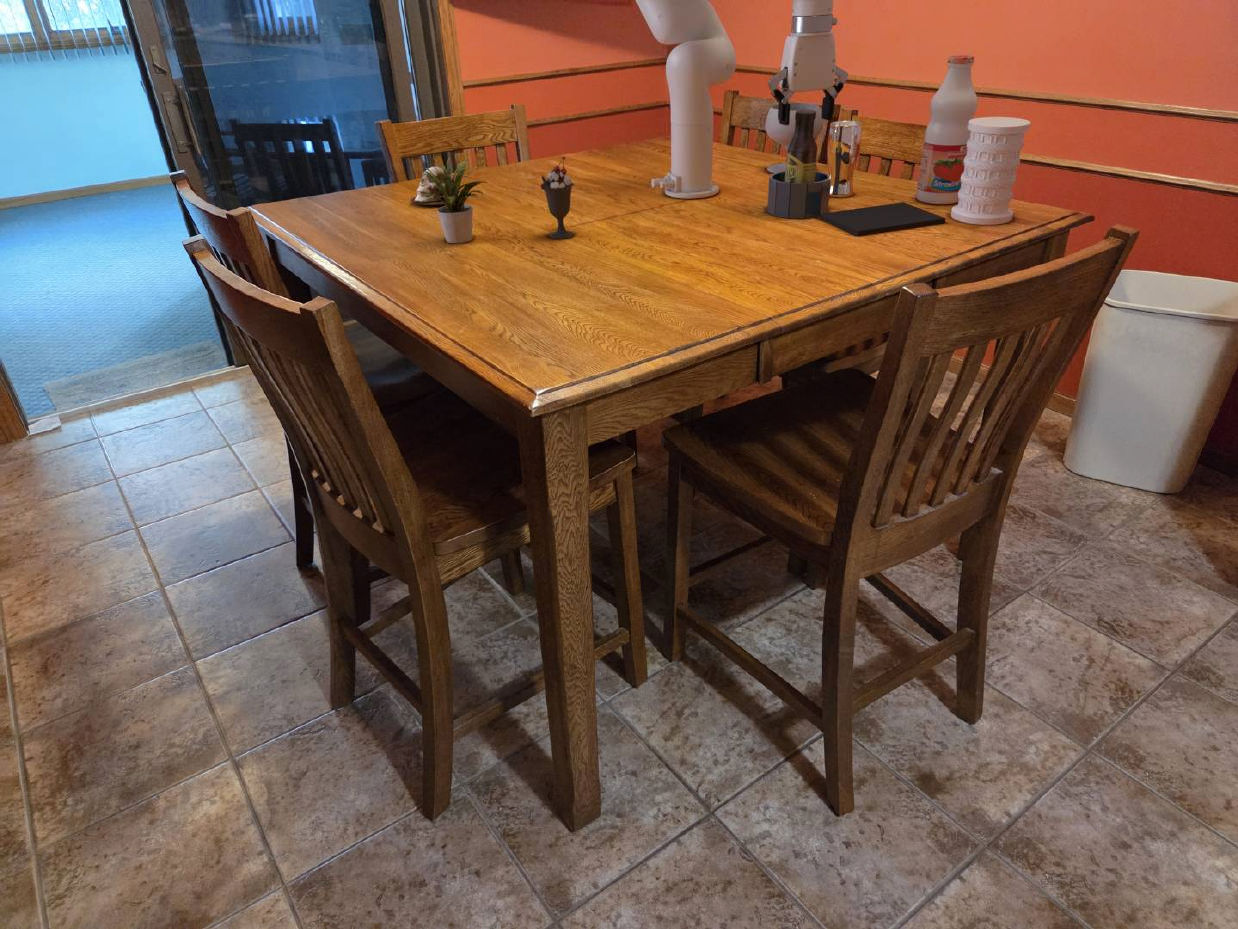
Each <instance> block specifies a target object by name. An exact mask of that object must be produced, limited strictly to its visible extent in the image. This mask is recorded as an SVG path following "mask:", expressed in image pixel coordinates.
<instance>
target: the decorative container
mask: <svg viewBox="0 0 1238 929" xmlns="http://www.w3.org/2000/svg"><path fill="white" fill-rule="evenodd" d="M1030 126H1031V121H1030V120H1027V119H1025V118H1019V117H1012V116H1011V117H1009V116H982V117H975V118H973V119H971V120H969V124H968V129H969V130H970V131H971V133H970V139H968V141H967V148H968V150H967V156H965V159H964V165H965V167H964V172H963V173H962V176H961V182H962V184H961V189H960V190H959V192H958V198H959V201H958V202H957V205H954V206H953V207H951V211H950V217H951V219H953V220H955V221H958V222H960V223H965V224H971V225H982V226H992V225H993V226H994V225H1002V224H1007V223H1010V222H1011V221H1012V220H1013V216H1014V210H1012V209H1011V208H1010V203H1011V201H1012V200H1013V198H1014V192H1013V188H1014V185H1015V184H1016V182H1017V170H1018V168H1019V165H1020V164H1021V158H1020V156H1021V151H1022V150H1023V148H1024V145H1025V142H1024V137H1025V133H1027V132H1029V130H1030Z"/></svg>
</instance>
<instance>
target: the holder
mask: <svg viewBox="0 0 1238 929" xmlns="http://www.w3.org/2000/svg"><path fill="white" fill-rule="evenodd" d="M830 182H831V175H829V173H825V172H823V171H818V170H816V173H815V182H813V183H787V182H785V171H781V172H777V173H772V174H769V177H768V188H767V190H768V192H767V207H766V208H767V211H766V213H768V214H769V215H772V216H774V217H778V218H784V219H796V220H797V219H800V220H802V219H813V218H820V214H822V213H829V202H830V196H829V193H830Z"/></svg>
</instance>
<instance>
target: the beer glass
mask: <svg viewBox="0 0 1238 929" xmlns="http://www.w3.org/2000/svg"><path fill="white" fill-rule="evenodd" d="M861 140H862V122H860V121H856V120H837V121H836V120H835V121H832V122H831V123H830V124H829V130H828V138H827V146H826V147H827V148H826V150H827V151H826V152H827V168H828V174H829V175H831V182H830V193H829V197H832V198H847V197H852V196H853V194H854V188H853V181H854V180H853V178H854V173H855V169H856V165H857V161H858V158H859V154H860V148H861Z"/></svg>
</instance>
